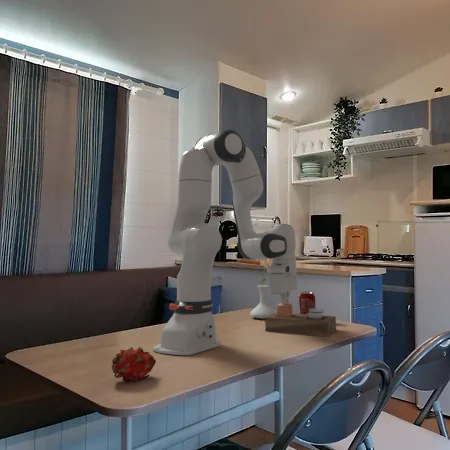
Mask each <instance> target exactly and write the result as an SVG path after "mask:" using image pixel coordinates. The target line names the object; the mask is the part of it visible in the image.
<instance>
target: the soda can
mask: <svg viewBox="0 0 450 450" xmlns="http://www.w3.org/2000/svg"><path fill="white" fill-rule="evenodd" d="M297 300H298V314H306V315H309V309H310V308H316V296H315V294H314V291H307V290H306V291H305V290H304V291H299V295H298V299H297Z"/></svg>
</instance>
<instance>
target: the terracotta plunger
mask: <svg viewBox="0 0 450 450" xmlns="http://www.w3.org/2000/svg"><path fill="white" fill-rule="evenodd" d="M276 307H277V309H276V311H277V312H276V313H277V317H288V318H290V317H292V316H293V314H294V313H293V304H292V303H288V304H282V303H281V302H280V303H277V306H276Z"/></svg>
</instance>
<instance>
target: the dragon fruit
mask: <svg viewBox="0 0 450 450" xmlns="http://www.w3.org/2000/svg"><path fill="white" fill-rule="evenodd" d="M111 361H112V363H111V364H112V365H111V370H112V372H113V374H114V378H116V379H121V378H122V381H123V382H127V381H129V380H131V381H133V382H137V381H138V380H139V379H140V380H141V379H142V380H146V379H148V378H149V377H150V374H149V373H150V372H152V370H153V368H154V367H155V365H156V361H157V360H156V359H155V357H154V356H153V355H151V353H150V352H149V351H144V349H143V347H140V346H139V347H137V348H136V349H134V348H133V347H132V346H131V347H129V348H128V349H127V350H125V349H120V350H119V352H117V354H115V356H114V357H113V359H112V360H111Z"/></svg>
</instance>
